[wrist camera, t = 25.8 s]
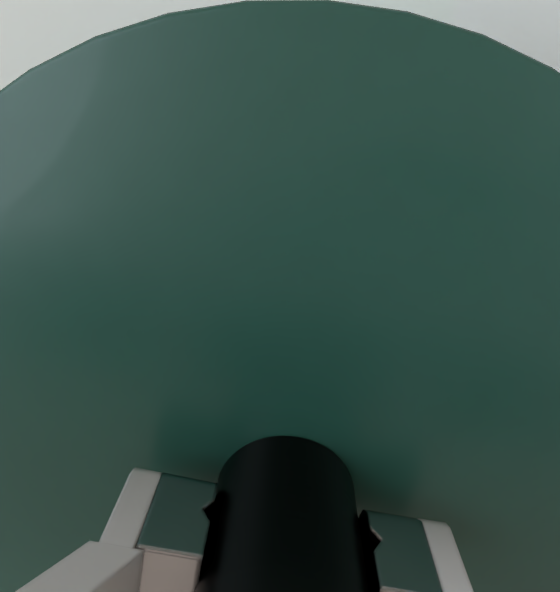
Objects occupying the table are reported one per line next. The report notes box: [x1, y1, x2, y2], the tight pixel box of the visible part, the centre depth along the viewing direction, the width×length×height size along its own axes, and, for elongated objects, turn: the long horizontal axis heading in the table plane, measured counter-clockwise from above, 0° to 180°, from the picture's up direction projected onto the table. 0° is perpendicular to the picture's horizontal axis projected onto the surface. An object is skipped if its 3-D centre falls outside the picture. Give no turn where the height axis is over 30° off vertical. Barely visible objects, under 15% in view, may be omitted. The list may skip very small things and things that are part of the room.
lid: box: [0, 0, 560, 592], centre depth 9 cm, size 16×16×5 cm
